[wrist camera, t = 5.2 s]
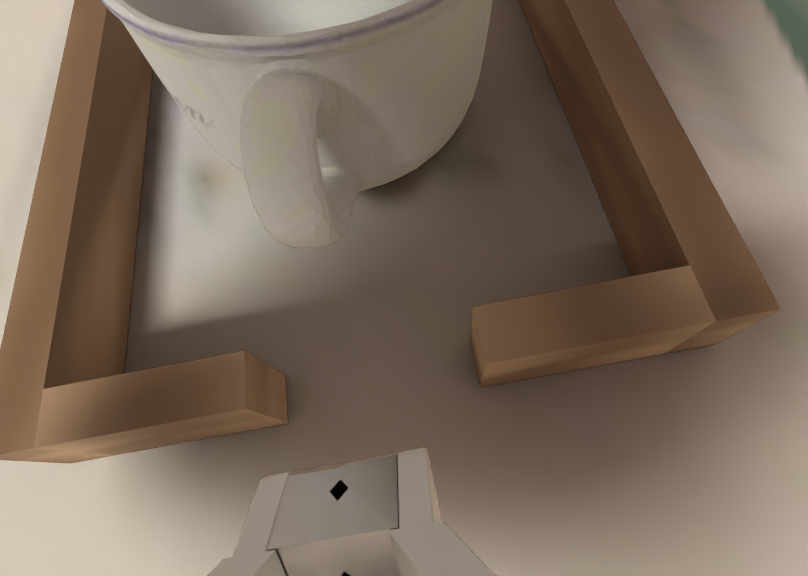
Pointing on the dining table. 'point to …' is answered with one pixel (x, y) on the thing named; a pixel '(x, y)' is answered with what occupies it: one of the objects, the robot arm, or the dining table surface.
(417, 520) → the robot arm
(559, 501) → the dining table surface
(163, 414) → the wooden l-brackets
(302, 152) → the teacup
